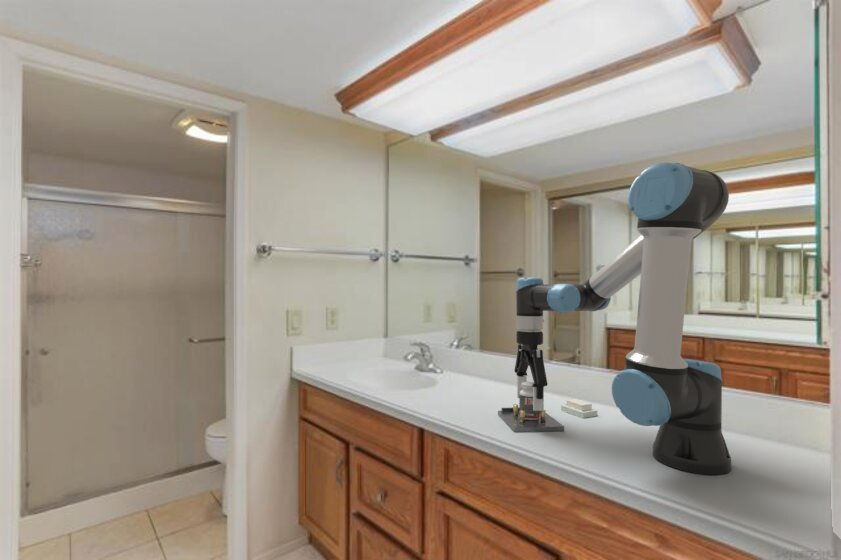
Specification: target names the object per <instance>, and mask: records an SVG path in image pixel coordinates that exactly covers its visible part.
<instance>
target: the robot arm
mask: <svg viewBox="0 0 841 560" xmlns="http://www.w3.org/2000/svg"><path fill="white" fill-rule="evenodd" d="M729 199H730V195H729V187H728V186H727V184H726V182H725V181H724V179H722V177H720V175H718V174H716V173H715V172H712V171H709V170H706V169H700V168H695V167H692V166H687V165H685V164H683V163H679V162H674V163H673V162H658V163H654V164H652V165H649V167H646V168H645V169H644V170H643V171H642V172H641V173H640V174H639V175H638V176H636V177H635V179H634V180H633V181H632V183H631V185H630V187H629V191H628V195H627V202H628V207H629V209H630V210H631V211H632V213H633V215H634V216H636V218H637V224H636V225H637V226H636V230H637V232H638V233H639V236H637V237H636V238H635V239H634V240H632V242H630V243H628V245H627V246H626V247H624V248H623V249H622V250H621V251H620V252H618V254H616V255H615V256H614V257H613V258H612V259H610V260H609V261H608V262H607V263H606V264H605V265H603V266H602V267H601V268H600V269H599V270H597V272H596V273H594V274H593V275H592V276H591V277H589V278H588V279H587V280H586V281H585V282H583V283H582V284H578V283H577V284H573V283H548V284H546V283H545V284H544V280H543V278H541V277H519V278H518V279H517V281H516V291H515V293H516V298H515V299H516V300H515V301H516V315H515V316H516V318H515V320H516V321H515V327H516V329H517V331H516V343H517V354H516V359H515V365H514V370H513V371H514V373H515V374H516V378H517V379H516V388H517V389H516V395H517V396H516V398H517V399H519V398H520V397H519V395H520V391H521V390H522V387H521V384H522V383H523V382H528V381H527V377H528V373H527V371H528V368H529V370H530V372H531V375H532V380H533V381H532V382H534V384H533V385H532V387H533V410H534V411H543V410H545V409H544V407H545V403H544V401H545V400H544V399H545V398H544V397H545V396H544V395H545V394H544V393H545V392H544V390H545V387H547V386H548V379H547V375H546V374H547V373H546V368H545V363H544V353H543V349H539V348H538V346H541V345H542V344H544V333H543V331H542V330H543V329H544V324H543V323H544V322H545V319H544V312H555V313H560V314H561V313H571V312H597V311H603V310H605V309H606V308H607V307H608V306H609V304H610V303H611V299H612V297H613V296H614V295H615V294H617V293H619V291H621V290H622V289H623V288H625V287H626V286H627V285H628V284H630V283H632V281H634V280H635V279H636V278H637V277H638V276H640V281H639V283H640V284H639V292H638V293H639V294H638V304H637V305H638V306H637V313H636V314H637V316H636V327H635V339H634V348H633V349H632V350H631V351H630V352H628V353H627V354H626V356H625V362H624V369H623V370H620V372H619V373H618V374H616V375H615V376H614V378H613V380H612V383H611V395H612V398H613V399H612V400H613V402H614V404H615V406H616V408H618V410H620V411H619V412H621V414H622V416H624V417H625V418H626V419H627V420H629V421H631V422H632V423H633V424H636V425H638V426H643V427H652V426H654V427H655V426H656V427H657V426H658V430H657V432H656V433H657V434H656V435H655V436H656V437H655V439H654V441H653V444H652V456H653V457H654V458H655V459H656V460H657V461H658V462H660V463H662V464H664V465H666V466H668V467H671V468H674V469H678V470H681V471H684V472H689V473H694V474H699V475H711V476H712V475H714V476H715V475H724V474H728V473H730V472H731V471H732V456H731V455H730V453H729V449H728V446H727V443H726V440H725V438H724V434H723V432H722V431H723V430H722V421H723V420H722V414H723V413H722V412H723V411H722V410H723V409H722V406H723V405H722V404H723V403H722V402H723V400H722V397H723V396H722V395H723V394H722V391H723V390H722V389H723V387H722V385H723V378H722V370H721V367H720V365H718V364H716V363H714V362H708V361H703V360H697V359H689V358H683V357H682V355H681V352H682V342H683V331H684V322H685V321H684V320H685V311H686V299H687V291H688V279H689V269H690V258H691V247H692V241H693V240H694V239H696V238H697V237H698V236H700V235H702V234H703V233H704V232H705V231H707V229H709V228H710V227H711V226H712V225H713V224H714V223H716V222H717V221H718V220H719V219H720V218H721V216H722V215H723V214H724V212H725V211H726V209H727V206H728V204H729Z"/></svg>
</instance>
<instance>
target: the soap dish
mask: <svg viewBox="0 0 841 560" xmlns="http://www.w3.org/2000/svg"><path fill="white" fill-rule="evenodd" d="M560 411H561V412H564V413H565V412H566V413H568V414H571V415H573V416H576V417H578V418H581V419H586V418H587V419H588V418H592V417H598V410H597V409H594V408H592V403H590V402H587V401H584V400H582V399H581V400H580V399H577V398H574V399H567V400H566V404H562V405H560Z"/></svg>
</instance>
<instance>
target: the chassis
mask: <svg viewBox="0 0 841 560" xmlns="http://www.w3.org/2000/svg"><path fill="white" fill-rule="evenodd" d="M497 416H499V417H500V419H502V420H503V422H504V423H505V424H506V425H507V426H508V427H509V428H510V429H511V430H512V431H513V432H514V433H524V432H525V433H526V432H528V433H529V432H531V433H533V432H534V433H535V432H564V431H565V425H563V424H562V423H561V422H559V421H557V420H556V419H555V418H554V417H553V416H552V415H550V414H548V413H547V412H546V409H544V410H543V411H539V419H537V420H525V411H524V410H520V416H519V404H513V407H501V410H497Z"/></svg>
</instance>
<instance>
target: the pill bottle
mask: <svg viewBox="0 0 841 560" xmlns="http://www.w3.org/2000/svg"><path fill="white" fill-rule="evenodd" d="M533 384H534V381H527V382H523V383H522V384H521V387H522V390H521V391H520V395H519V397H520V398H518V399H519V404H518V407H519V416H520V410H524V411H525V420H537V419H539V411H534V410H533V387H532V385H533Z"/></svg>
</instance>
